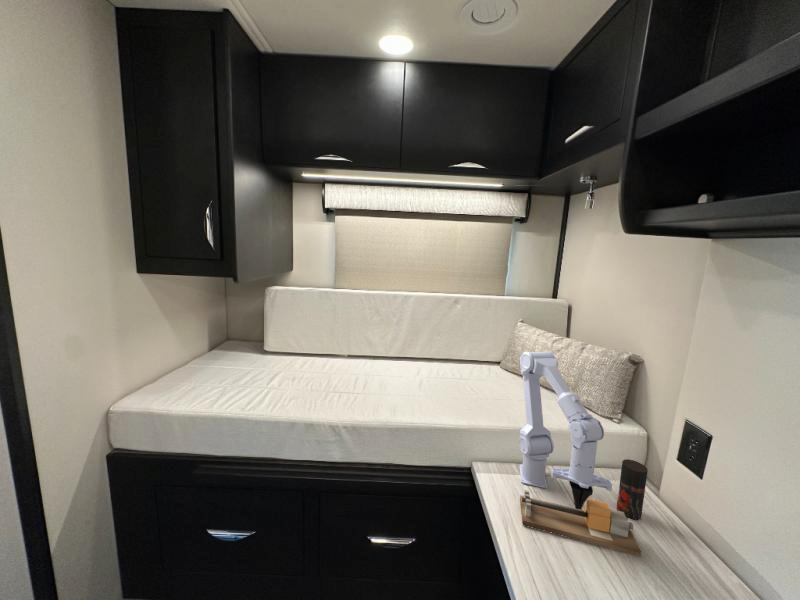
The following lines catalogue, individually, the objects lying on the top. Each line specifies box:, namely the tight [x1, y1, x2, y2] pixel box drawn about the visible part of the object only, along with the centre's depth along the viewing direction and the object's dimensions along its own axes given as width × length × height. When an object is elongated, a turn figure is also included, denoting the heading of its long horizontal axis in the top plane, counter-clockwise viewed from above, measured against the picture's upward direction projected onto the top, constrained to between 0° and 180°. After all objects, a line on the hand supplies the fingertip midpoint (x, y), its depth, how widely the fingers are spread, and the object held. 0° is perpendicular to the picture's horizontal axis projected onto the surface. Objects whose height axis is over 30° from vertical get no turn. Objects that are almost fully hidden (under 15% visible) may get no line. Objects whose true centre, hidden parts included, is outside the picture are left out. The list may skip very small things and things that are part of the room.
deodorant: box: [616, 458, 649, 521], centre depth 91 cm, size 6×6×15 cm
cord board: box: [519, 490, 642, 557], centre depth 86 cm, size 10×28×6 cm, turn 72°
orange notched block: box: [584, 497, 611, 533], centre depth 84 cm, size 4×5×6 cm
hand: (577, 506), depth 86 cm, fingers closed
